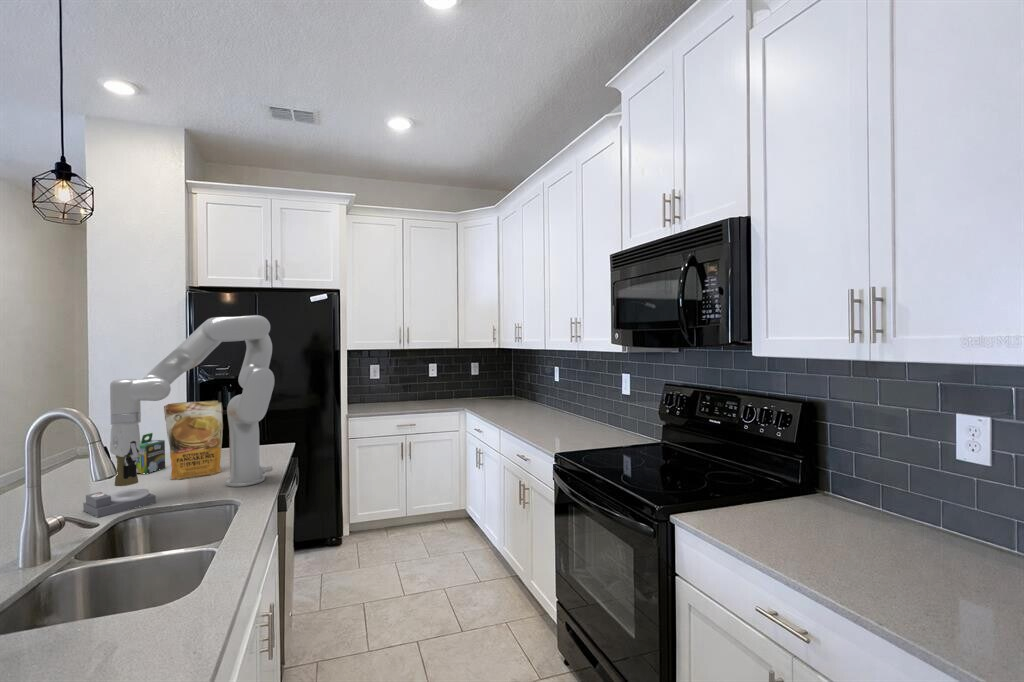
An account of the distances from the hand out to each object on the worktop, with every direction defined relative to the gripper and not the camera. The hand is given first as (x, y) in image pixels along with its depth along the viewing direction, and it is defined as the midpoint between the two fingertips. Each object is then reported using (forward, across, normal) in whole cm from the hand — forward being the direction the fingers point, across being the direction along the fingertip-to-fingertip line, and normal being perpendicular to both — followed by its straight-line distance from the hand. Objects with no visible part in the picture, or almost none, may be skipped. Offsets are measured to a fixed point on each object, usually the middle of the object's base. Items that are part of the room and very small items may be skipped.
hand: (126, 476), depth 159 cm
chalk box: (+9, -41, +21) cm, 47 cm away
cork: (+2, 0, 0) cm, 2 cm away
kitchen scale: (+9, 0, -2) cm, 9 cm away
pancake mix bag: (+9, -17, +28) cm, 34 cm away
